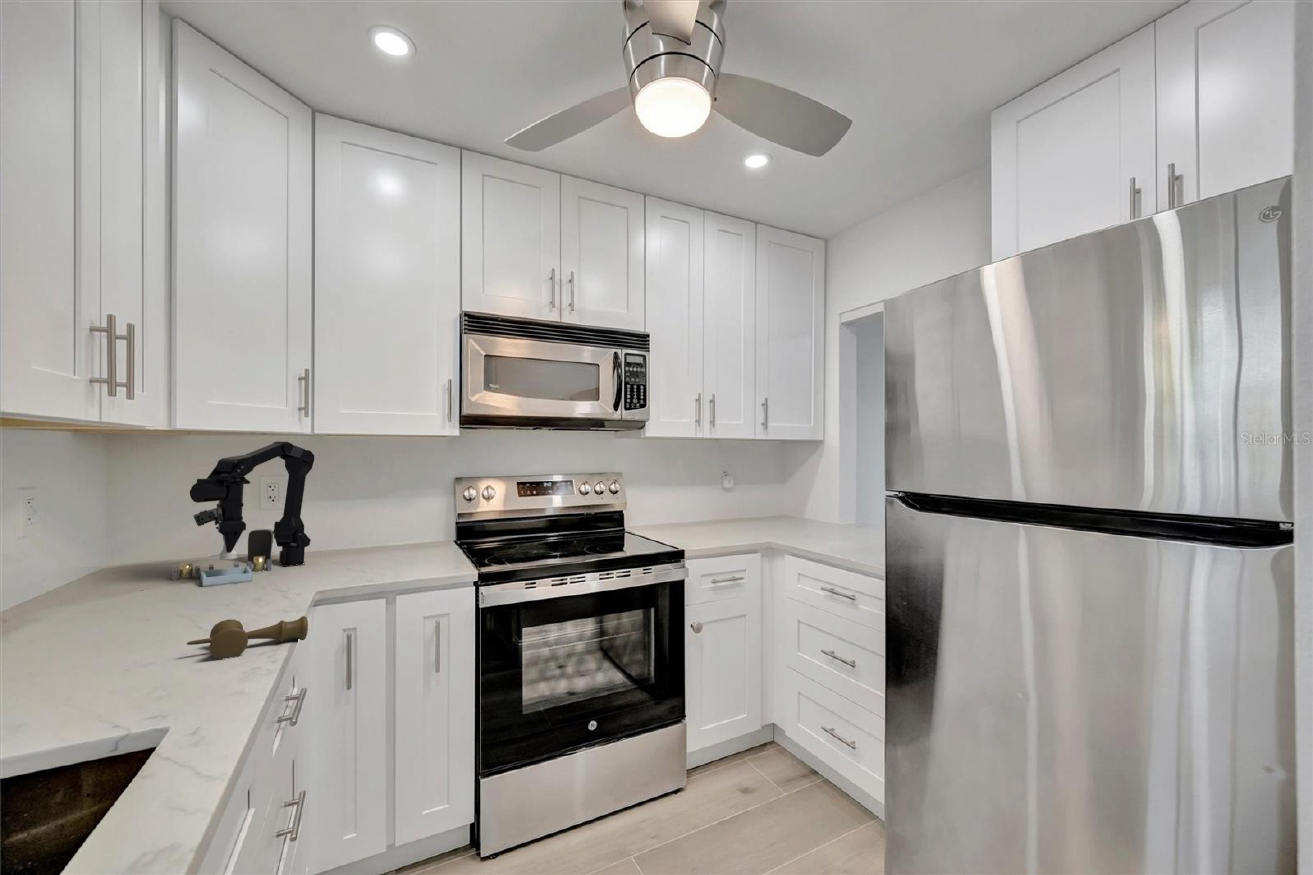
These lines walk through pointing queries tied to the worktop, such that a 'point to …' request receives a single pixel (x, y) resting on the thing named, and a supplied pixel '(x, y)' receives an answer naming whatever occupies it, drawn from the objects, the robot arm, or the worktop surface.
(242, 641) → the kendama
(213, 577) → the tray
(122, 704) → the worktop surface
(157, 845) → the worktop surface
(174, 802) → the worktop surface
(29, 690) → the worktop surface
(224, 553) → the rook chess piece
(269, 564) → the grey small pieces
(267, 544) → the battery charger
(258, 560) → the brass peg
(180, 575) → the brass peg
